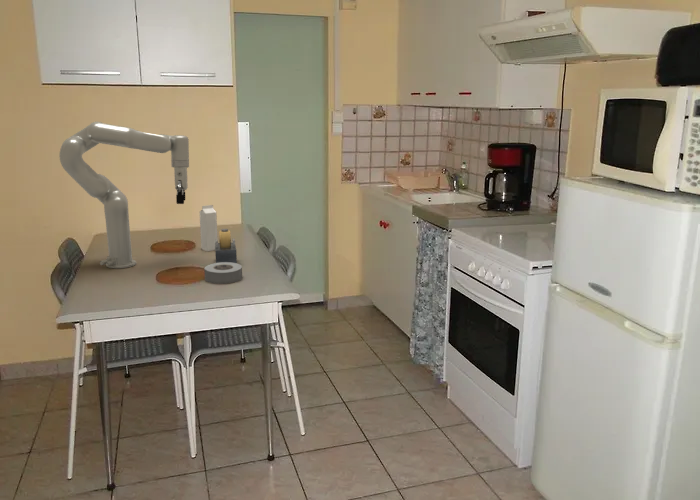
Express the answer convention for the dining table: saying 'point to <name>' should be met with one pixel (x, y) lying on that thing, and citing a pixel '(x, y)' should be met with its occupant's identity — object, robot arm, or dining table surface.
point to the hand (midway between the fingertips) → (181, 202)
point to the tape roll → (223, 272)
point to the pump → (225, 238)
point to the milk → (208, 228)
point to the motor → (225, 253)
